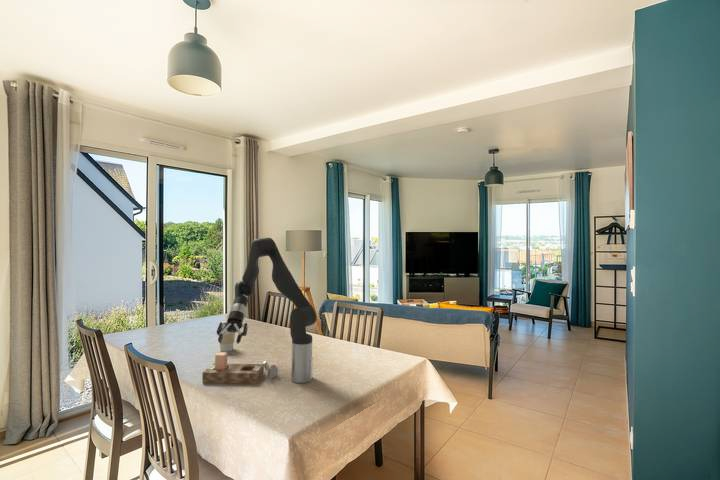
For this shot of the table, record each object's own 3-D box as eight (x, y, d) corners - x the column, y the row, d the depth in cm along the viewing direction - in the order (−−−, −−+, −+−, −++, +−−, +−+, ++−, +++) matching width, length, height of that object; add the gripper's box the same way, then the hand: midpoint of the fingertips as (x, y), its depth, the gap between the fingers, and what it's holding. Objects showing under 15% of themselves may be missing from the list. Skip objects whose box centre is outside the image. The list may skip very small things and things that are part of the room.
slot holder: (263, 373, 175) (263, 363, 175) (256, 383, 163) (256, 372, 163) (213, 372, 175) (213, 362, 175) (202, 382, 163) (202, 371, 163)
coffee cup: (238, 349, 211) (238, 323, 211) (223, 353, 205) (223, 326, 205) (230, 346, 217) (230, 321, 217) (215, 349, 211) (215, 323, 211)
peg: (227, 374, 171) (227, 352, 171) (223, 377, 167) (224, 355, 167) (218, 373, 171) (218, 352, 171) (214, 377, 167) (215, 355, 167)
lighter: (275, 374, 174) (276, 357, 174) (277, 375, 172) (278, 358, 172) (262, 378, 169) (262, 361, 169) (263, 379, 168) (264, 362, 168)
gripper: (221, 309, 187) (211, 338, 175) (249, 310, 187) (241, 338, 175) (225, 317, 192) (216, 346, 181) (252, 318, 192) (245, 346, 181)
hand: (228, 342), depth 178 cm, fingers open, 8 cm apart
